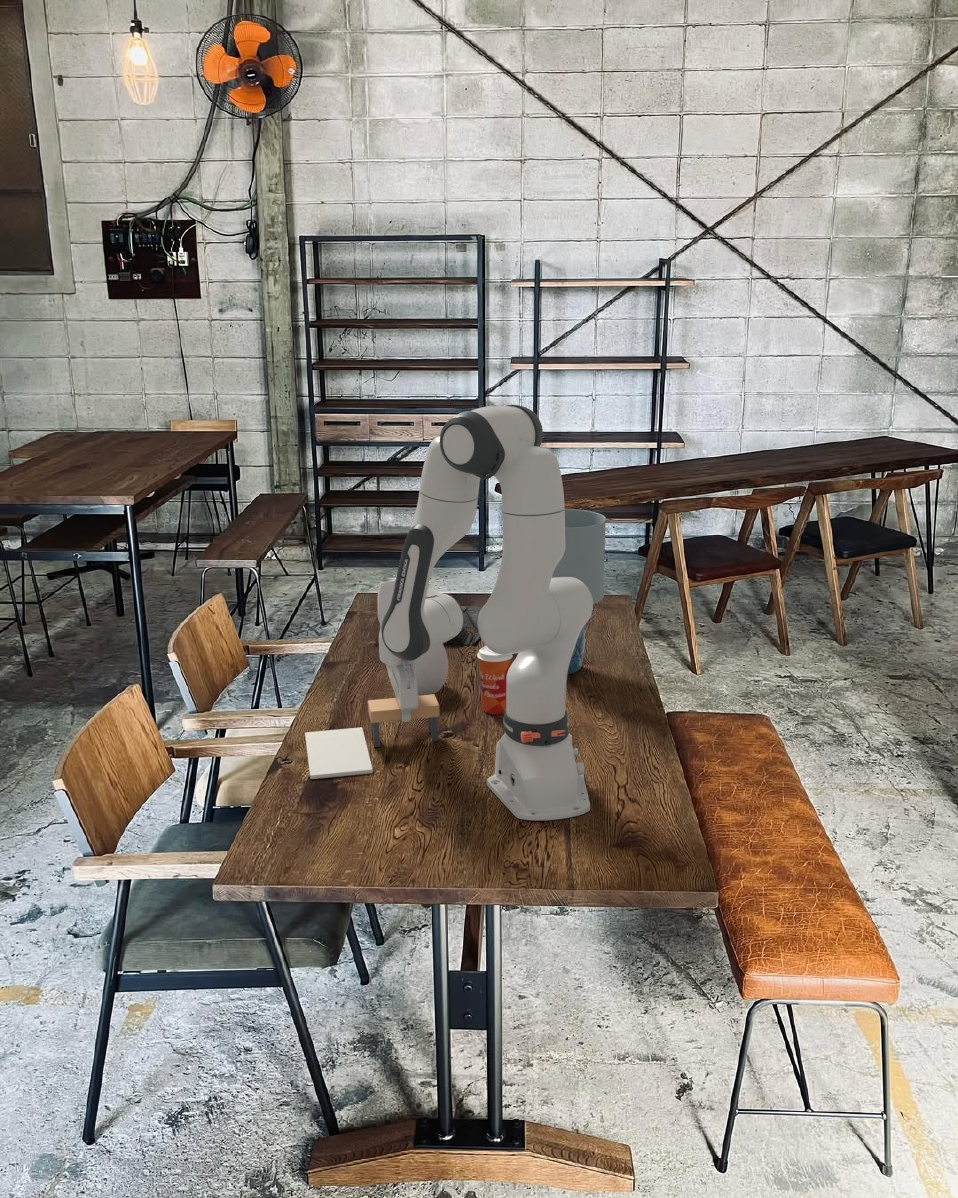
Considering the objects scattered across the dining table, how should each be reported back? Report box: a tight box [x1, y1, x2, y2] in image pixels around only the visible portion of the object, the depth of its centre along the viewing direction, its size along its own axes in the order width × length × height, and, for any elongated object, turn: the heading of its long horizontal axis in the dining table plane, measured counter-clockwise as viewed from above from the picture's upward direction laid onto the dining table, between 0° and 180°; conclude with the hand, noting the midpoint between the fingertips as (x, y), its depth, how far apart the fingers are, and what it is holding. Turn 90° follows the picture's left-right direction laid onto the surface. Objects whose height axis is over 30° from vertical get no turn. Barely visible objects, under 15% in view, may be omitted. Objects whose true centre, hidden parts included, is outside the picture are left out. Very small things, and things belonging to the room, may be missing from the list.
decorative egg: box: [414, 644, 449, 696], centre depth 244 cm, size 12×12×15 cm
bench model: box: [367, 693, 440, 748], centre depth 219 cm, size 14×6×8 cm, turn 102°
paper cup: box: [476, 645, 513, 715], centre depth 233 cm, size 8×8×14 cm
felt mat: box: [304, 726, 374, 780], centre depth 214 cm, size 20×12×1 cm, turn 12°
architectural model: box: [443, 605, 483, 647], centre depth 288 cm, size 17×6×30 cm
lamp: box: [552, 508, 607, 675], centre depth 252 cm, size 19×19×38 cm
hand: (403, 713), depth 219 cm, fingers closed on bench model, 6 cm apart
